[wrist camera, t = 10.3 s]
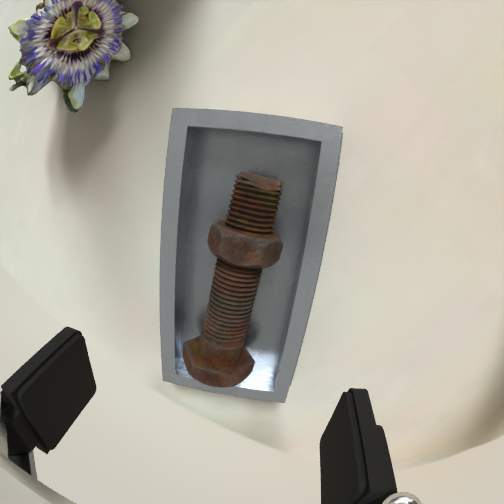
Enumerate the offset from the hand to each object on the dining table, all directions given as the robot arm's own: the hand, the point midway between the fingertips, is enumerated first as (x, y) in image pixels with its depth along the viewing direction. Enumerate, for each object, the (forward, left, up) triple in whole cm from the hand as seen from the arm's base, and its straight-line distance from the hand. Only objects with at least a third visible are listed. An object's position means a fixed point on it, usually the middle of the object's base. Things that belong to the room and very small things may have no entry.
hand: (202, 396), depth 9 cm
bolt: (0, +1, -14) cm, 14 cm away
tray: (+1, 0, -15) cm, 15 cm away
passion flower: (+17, -18, -15) cm, 28 cm away
